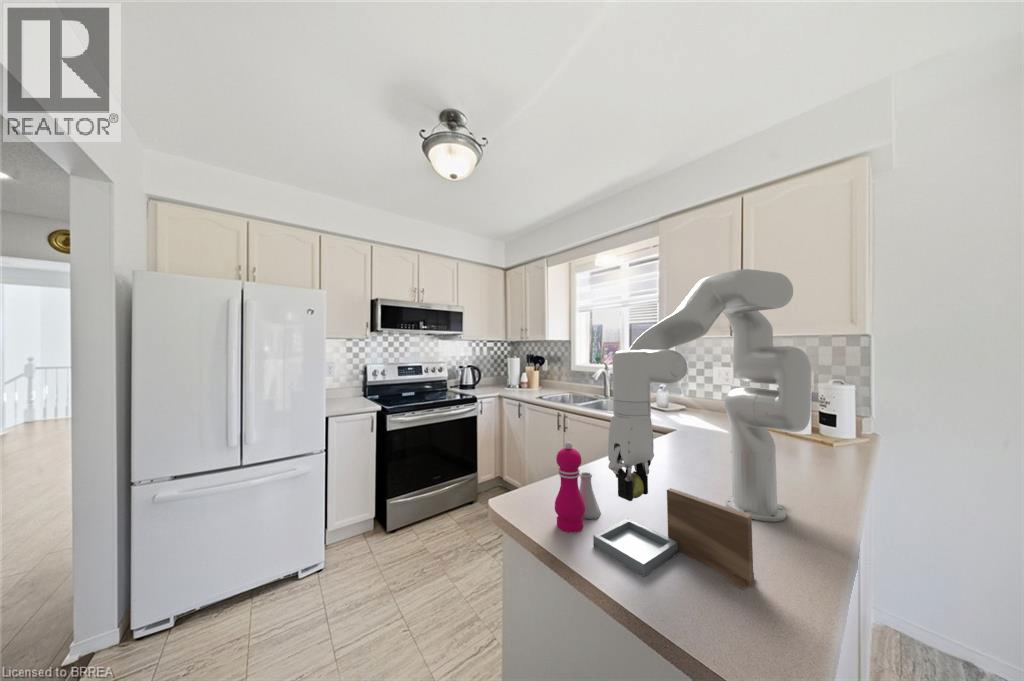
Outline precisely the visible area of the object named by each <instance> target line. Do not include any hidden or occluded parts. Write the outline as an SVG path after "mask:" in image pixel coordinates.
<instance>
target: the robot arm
mask: <svg viewBox="0 0 1024 681" xmlns="http://www.w3.org/2000/svg"><path fill="white" fill-rule="evenodd" d="M793 286H794V285H793V283H792V282H791V280H790V279H789V278H788V276H787V275H785V274H783V273H780V272H776V271H768V270H761V269H759V270H758V269H750V268H749V269H748V268H747V269H746V268H743V269H737V270H732V271H727V272H723V273H719V274H714V275H710V276H706V277H704V278H702V279H700V280H699V281H698V282H697V283H696V284H695V285H694V287H693V288H692V289H691V290H690V292H689V293H688V294H687V296H685V298H684V299H683V301H682V302H681V303H680V304H679V305H678V307H677V308H676V309H675V311H674V312H673V313H671V314H670V315H669V316H667V317H665V318H663V319H662V320H660V321H659V322H658V323H656V324H654V325H652V326H651V327H650V328H648V329H647V330H645V331H644V332H643V333H641V335H639V336H638V337H637V338H636V339H635V340H634V342H633V343H632V344H631V346H629V348H628V349H627V350H617V351H615V352H614V353H613V355H612V403H613V404H612V408H613V410H612V412H613V413H612V415H611V417H610V423H609V429H608V442H607V446H608V447H607V458H608V461H609V463H608V465H607V466H608V467H607V468H608V469H609V470H611V471H612V472H613V473H614V475H615V478H616V479H617V497H619V498H622V499H624V500H625V501H628V502H632V501H633V500H634V498H633V482H632V481H630V478H631V473H635V474H637V475H638V476H640V478H641V480H642V482H643V485H644V492H643V494H642V495H648V494H649V481H648V479H649V477H648V475H649V474H650V466H651V464H652V463H651V462H652V461H653V459H654V457H655V453H654V448H655V446H654V432H653V423H652V413H651V412H652V411H651V410H652V409H651V408H652V405H651V404H652V403H651V402H652V401H651V384H652V383H653V384H662V385H672V384H675V383H678V382H680V381H681V380H683V379H684V378H685V376H686V374H687V372H688V363H687V360H686V358H685V357H684V356H683V355H682V354H681V353H680V352H678V351H676V350H672V348H675V347H678V346H680V345H681V346H682V345H684V344H687V343H691V342H694V341H696V340H698V339H700V338H702V337H704V336H705V335H707V333H708V332H709V330H710V329H711V328H712V326H713V325H714V323H715V322H716V321H717V319H718V318H719V316H720V315H721V314H724V316H725V317H726V319H727V320H728V322H729V323H730V325H731V327H732V331H733V332H732V333H733V346H732V348H733V349H732V350H733V351H732V352H733V353H732V357H733V358H732V370H733V375H734V376H735V378H736V379H738V380H740V381H743V382H745V383H746V382H747V383H755V384H767V385H777V387H778V390H777V389H776V390H775V389H767V388H759V387H737V388H733V389H731V390H730V391H728V392H727V394H726V395H725V399H724V408H725V413H726V417H727V421H728V425H729V433H730V461H731V462H730V463H731V488H732V490H731V492H732V493H731V495H729V496H727V497H726V498H725V505H726V507H728V508H731V509H733V510H736V511H739V512H742V513H745V514H748V515H751V519H753V520H757V521H762V522H781V521H783V520H785V519H786V518H787V517H786V516H787V514H786V513H787V512H786V510H785V509H784V508H783V507H782V506H780V505H779V504H778V485H777V484H778V481H777V480H778V479H777V457H776V456H777V455H776V453H777V450H776V443H775V441H774V438H773V436H772V434H771V433H770V430H768V429H773V430H778V431H783V432H789V433H798V432H802V431H804V430H806V428H807V427H808V426H809V422H810V419H811V411H812V410H811V408H812V407H811V406H812V405H811V404H812V402H811V401H812V398H811V397H812V367H811V362H810V359H809V357H808V355H807V353H805V351H803V349H801V348H799V347H796V346H789V345H787V346H784V345H783V346H782V345H781V346H780V345H778V346H775V345H774V334H773V333H774V329H773V326H772V324H771V322H770V321H769V319H768V318H767V317H766V316H765V315H764V314H763V313H762V312H761V311H767V310H776V309H782V308H784V307H785V306H787V305H788V304H789V303H790V302H791V300H792V298H793V296H794V287H793ZM623 468H625V469H623ZM632 468H634V471H632ZM624 470H625V471H624Z"/></svg>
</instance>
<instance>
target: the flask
mask: <svg viewBox="0 0 1024 681" xmlns="http://www.w3.org/2000/svg"><path fill="white" fill-rule="evenodd" d="M579 474H580V475H579V478H580V485H579V491H580V494H581V496H582V498H583V501H584V504H585V513H584V515H583V516H582V518H583V519H585V520H591V519H599V517H600V516H601V513H602V512H601V509H600V506H599V503H598V502H597V498H596V496H595V493H594V490H593V485H592V477H593V474H592V473H591V472H587V471H582V472H579Z"/></svg>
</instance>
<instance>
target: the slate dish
mask: <svg viewBox="0 0 1024 681" xmlns="http://www.w3.org/2000/svg"><path fill="white" fill-rule="evenodd" d="M592 537H593V542H592V543H593V548H595V549H597V550H598V551H599V552H601V553H603V554H605V555H606V556H609V558H611V559H613V560H614V561H617V562H618V563H619V564H621V565H623V566H624V567H626V568H628V569H629V570H631V571H633V572H634V573H636V574H638V575H639V576H641V577H643V578H645V577H647V576H649V575H650V574H651V573H652V572H654V571H656V570H657V569H659V567H661V566H663V565H664V564H666V563H667V562H669V561H670V560H672V559H673V558H674V557H676V556H677V555H678V554H677V553H678V552H677V551H678V550H677V549H678V542H677V541H675V540H673V539H670V538H668V536H666V535H664V534H662V533H660V532H658V531H655V530H653V529H651V528H649V527H646V526H645V525H643V524H640V523H638V522H636V521H634V520H632V519H630V518H626V519H623V520H621V521H619V522H617V523H616V524H614V525H612V526H610V527H607V528H605V529H603V530H601V531H599V532H596V533H595V534H593V536H592ZM675 551H676V554H677V555H676V554H675Z"/></svg>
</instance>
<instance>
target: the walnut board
mask: <svg viewBox="0 0 1024 681" xmlns="http://www.w3.org/2000/svg"><path fill="white" fill-rule="evenodd" d="M666 503H667V504H666V507H667V508H666V510H667V512H666V514H667V537H668V538H670V539H673V540H675V541H677V542H678V549H677V550H678V551H677V552H678V553H677V554H676V551H675V554H676V556H677V555H678V554H682V555H683V556H686V557H688V558H690V559H692V560H694V561H696V562H698V563H700V564H702V565H704V566H706V567H708V568H710V569H712V570H713V571H717V572H718V573H720V574H722V575H724V576H726V577H729V583H730V584H731V585H733V586H735V587H736V588H739V589H740V590H744V589H746V587H748V588H751V587H752V586H753V585H754V584H755V583H754V579H755V572H754V556H753V555H754V553H753V552H754V551H753V550H754V549H753V526H752V523H753V522H752V518H751V515H748V514H745V513H742V512H739V511H736V510H733V509H731V508H728V507H727V506H725V505H722V504H718V503H715V502H713V501H709V500H706V499H704V498H701V497H698V496H695V495H694V494H693V495H692V494H689V493H686V492H683V491H680V490H677V489H675V488H672V487H671V488H668V489H666Z"/></svg>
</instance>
